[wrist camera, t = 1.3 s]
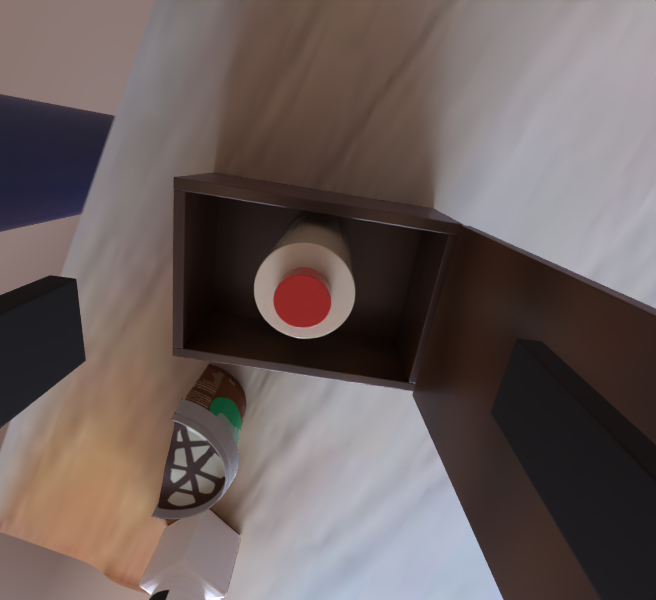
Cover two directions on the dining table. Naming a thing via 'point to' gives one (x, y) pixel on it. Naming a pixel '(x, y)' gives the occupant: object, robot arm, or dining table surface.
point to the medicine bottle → (192, 560)
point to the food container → (202, 446)
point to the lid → (484, 381)
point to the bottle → (307, 278)
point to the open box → (256, 243)
